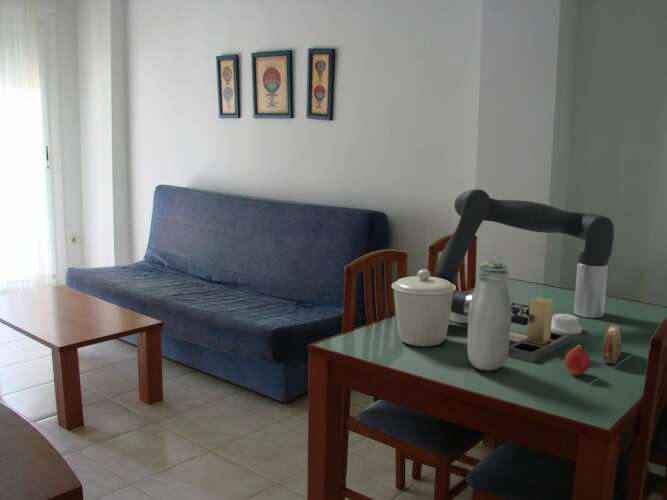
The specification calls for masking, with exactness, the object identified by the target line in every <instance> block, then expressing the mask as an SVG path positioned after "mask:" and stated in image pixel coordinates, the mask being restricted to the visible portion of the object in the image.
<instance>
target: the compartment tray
mask: <svg viewBox="0 0 667 500" xmlns="http://www.w3.org/2000/svg"><path fill="white" fill-rule="evenodd" d="M527 338H528V337H527ZM527 338H525V339H523V340H521V341H519V342H515V343H513V344H511V345H510V344H509V350H508V356H507V357H509V358H514V359H518V360H520V361H524V362H529V363H532V364H534V363H536V362H537V361H540V360H541V359H543V358H546V357H547V356H548V355H551V354H553V353H554V352H556V351H558V350H560V349H561V348H563V347H565V346H567V345H569V344H570V334H564V333H558V332H554V331H551V336H550V343H549V344H547V345H545V346H541V345H537V344H533V343H529V342H527Z"/></svg>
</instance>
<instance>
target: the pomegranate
mask: <svg viewBox="0 0 667 500" xmlns="http://www.w3.org/2000/svg"><path fill="white" fill-rule="evenodd" d="M564 358H565V359H564V364H565V367H566V369H568V371H569V372H570V373H572V374H573V375H574V376H576V377H579V376H581V375H583V374H584V373H585V372H587V371H588V370H589V369H590V367H591V359H590V356H589V354H588V353H587V352H586V350H584V349H583V348H582V345H580V344H578V345H576V347H575V348H572V349H570V350H569V351H568V352H567V353H566V356H565V357H564Z"/></svg>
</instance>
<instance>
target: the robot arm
mask: <svg viewBox="0 0 667 500" xmlns="http://www.w3.org/2000/svg"><path fill="white" fill-rule="evenodd" d="M453 207H454V210H455V212H456V213H457V215H458V216H460V219H459V221H458V224H457V227H456V229H455V230H454V232H453V233H452V236H451V237H450V239H449V241H447V243H446V245H445V247H444V249H443V251H442V252H441V255H440V257H439V259H438V262H437V265H436V266H435V270H434V275H435V277H437V278H442V279H445V280H447V281H449V282H451V283H452V284H453V285H455V286H456V283H457V282H456V281H457V277H458V276H459V273H460V271H461V269H462V265H463V263H464V260H465V258H466V255H467V253H468V250H469V248H470V246H471V244H472V243H473V239H474V237H475V236H476V233H477V232H478V231H479V228H480V226H481V225H482V223H483V222H484V221H485V222H494V223H498V224H500V225H501V224H502V225H504V226H507V227H512V228H516V229H520V230H525V231H530V232H535V233H543V234H551V233H552V234H554V233H555V234H563V235H568V236H571V237H574V238H577V239H581V240H583V241H584V249H583V251H582V252H580V253H578V255H577V266H576V278H575V279H576V280H575V281H576V282H575V289H574V290H575V294H574V306H573V314H574V315H575V316H576V315H577V316H579V317H583V318H592V319H597V318H599V319H600V318H602V317H604V314H605V304H606V303H605V302H606V291H607V279H608V270H609V269H608V267H609V259H610V258H611V255H612V252H613V245H614V238H615V227H614V223H613V221H612V220H611V219H610V218H609V217H608V216H604V215H601V214H597V213H588V212H587V213H586V212H585V213H584V212H573V211H565V210H563V209H560V208H557V207H556V206H552V205H548V204H545V203H542V202H541V203H540V202H535V201H529V200H517V199H510V200H509V199H495V198H491V197H490V195H489V194H488V192H486V191H485V190H483V189H478V188H477V189H476V188H475V189H474V188H473V189H470V190H466V191H464V192H461V193H460V194H459V195H458V196H457V197H456V198H455V200H454V203H453ZM472 294H473V292H468V291H462V290H461V291H460V290H457V289H456V290H455V291H454V292H453V299H452V305H451V312H454V313H456V314H460V315H464V316H468V314H469V304H470V300H471V297H472ZM529 306H530V305H529V304H528V305H526V304H521V303H516V302H512V303H511V325H514V324H517V325H519V326H520V325H522V326H528V322H529Z"/></svg>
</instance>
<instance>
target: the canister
mask: <svg viewBox="0 0 667 500" xmlns="http://www.w3.org/2000/svg"><path fill="white" fill-rule="evenodd" d="M391 288H392V290H393V293H394V294H393V295H394V296H393V297H394V307H395V317H396V326H397V334H398V337H399V339H400V340H401V341H402V342H404V343H405V344H407V345H409V346H410V345H411V346H412V347H413V346H414V347H423V348H424V347H427V348H428V347H435V346H437V345H441V344H442V343H444V341H445V339H446V337H447V333H448V329H449V324H450V319H449V318H450V312H451V305H452V299H453V292H454V291H455V290H457V287H456V285H453V284H452V283H451V282H449V281H447V280H445V279H442V278H437V277H436V276H431V272H430V271H429V270H428V269H420V270H419V271H417V275H413V276H405V277H401V278H399V279H397V281H394V282H392V284H391Z"/></svg>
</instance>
